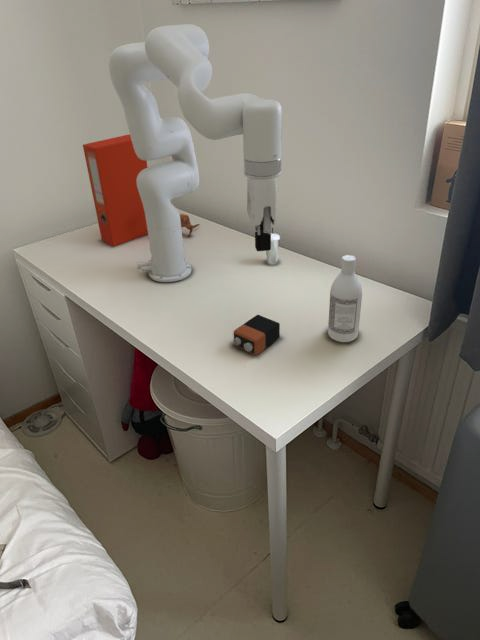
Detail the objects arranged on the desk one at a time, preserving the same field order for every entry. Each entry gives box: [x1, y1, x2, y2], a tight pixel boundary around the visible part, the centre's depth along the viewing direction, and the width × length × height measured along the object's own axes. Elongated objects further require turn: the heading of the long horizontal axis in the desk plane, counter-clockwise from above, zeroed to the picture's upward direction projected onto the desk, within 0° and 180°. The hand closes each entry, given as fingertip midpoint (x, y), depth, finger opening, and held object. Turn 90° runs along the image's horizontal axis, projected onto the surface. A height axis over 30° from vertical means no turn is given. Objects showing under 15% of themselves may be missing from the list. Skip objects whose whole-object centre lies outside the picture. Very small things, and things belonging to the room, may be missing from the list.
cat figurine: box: [179, 213, 200, 237], centre depth 168 cm, size 18×7×14 cm, turn 141°
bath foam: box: [327, 254, 363, 343], centre depth 112 cm, size 7×7×20 cm
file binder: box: [82, 133, 148, 247], centre depth 166 cm, size 8×17×32 cm, turn 133°
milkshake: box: [265, 227, 281, 266], centre depth 149 cm, size 4×5×10 cm
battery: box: [233, 314, 281, 356], centre depth 115 cm, size 4×7×10 cm
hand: (262, 249), depth 111 cm, fingers closed
